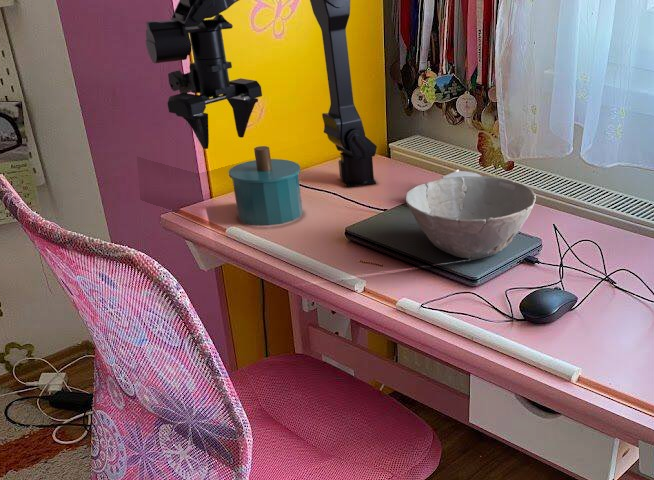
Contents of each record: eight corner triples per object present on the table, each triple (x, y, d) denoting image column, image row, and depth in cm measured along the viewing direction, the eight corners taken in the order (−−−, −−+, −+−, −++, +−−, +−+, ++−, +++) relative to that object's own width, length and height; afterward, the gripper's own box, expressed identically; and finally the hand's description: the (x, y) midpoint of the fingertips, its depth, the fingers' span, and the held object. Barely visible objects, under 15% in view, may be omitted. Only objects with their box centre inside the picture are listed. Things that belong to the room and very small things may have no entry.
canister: (296, 203, 175) (291, 159, 170) (307, 223, 165) (302, 177, 160) (235, 210, 172) (228, 166, 167) (243, 231, 162) (235, 185, 157)
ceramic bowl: (442, 220, 166) (440, 169, 160) (553, 239, 157) (555, 185, 152) (382, 262, 149) (379, 206, 144) (503, 285, 140) (504, 226, 135)
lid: (294, 161, 171) (291, 135, 168) (306, 181, 160) (303, 154, 158) (226, 168, 167) (221, 142, 165) (233, 189, 157) (228, 161, 154)
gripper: (216, 44, 168) (229, 126, 176) (139, 61, 155) (157, 148, 163) (258, 50, 163) (269, 133, 171) (181, 67, 149) (197, 157, 158)
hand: (223, 142), depth 166 cm, fingers open, 9 cm apart
